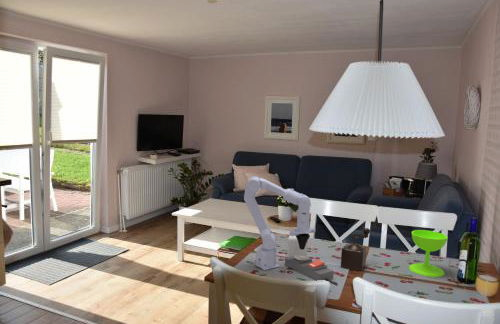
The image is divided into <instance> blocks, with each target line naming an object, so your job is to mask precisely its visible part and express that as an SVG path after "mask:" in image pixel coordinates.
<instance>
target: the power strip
mask: <svg viewBox="0 0 500 324" xmlns="http://www.w3.org/2000/svg"><path fill="white" fill-rule="evenodd" d="M297 256H299V255H297ZM305 257H306V256H305ZM307 258H309V260H304V261H303V260H297V259H295V258H294V256H292V257H287V256H286V257H285V258H284V265H285V266H287V267H288V268H290V269H293V270H295V271H296V272H299V273H301V274H302V275H304V276H307V277H309V278H311V279H313V280H315V281H317V280H325V281H327V280H328V281H327V282H329V281H330V283H332V284H333V283H334V285H336V286H338V285H339V282H337V281H334V280H333V279H334V272H335V271H334V270H333V269H330V268H328V265H327V264H324V265H322V266H321V267H318V268H312V267H310V266H308V264H310V263H312V262H313V259H312V258H310V257H308V256H307ZM331 278H332V279H331Z"/></svg>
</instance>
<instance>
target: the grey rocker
mask: <svg viewBox="0 0 500 324" xmlns="http://www.w3.org/2000/svg"><path fill="white" fill-rule="evenodd" d="M307 257H308V256H307ZM307 257H305V256H297V255H294V258H295V259H297V260H303V261H304V260H309V258H310V257H308V258H307Z"/></svg>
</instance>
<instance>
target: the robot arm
mask: <svg viewBox="0 0 500 324" xmlns="http://www.w3.org/2000/svg"><path fill="white" fill-rule="evenodd" d="M244 188H245V189H244V195H243V200H244V202H245V204H246V206H247V208H248V211H249V213H250V214H251V217H252V219H253V221H254V223H255V226H256V227H257V229H258V232H259V234H260V237H261V240H262V245H261V248H259V249H258V250H256V253H255V264H254V265H255V267H258V268H259V269H262V270H263V271H267V270H271V269H275V268H279V267H280V266H281V265H280V264H278V263H277V251H278V250H277V248H278V247H277V246H276V245H277V243H276V242H277V235H276V234H275V233H274V232H273V231H272V229H271V228H270V226H269V225H268V223H267V221H266V219H265V216H264V214H263V213H262V210H261V208H260V206H259V204H258V202H257V200H256V198H255V197H256V195H257V192H258V191H259V190H260V191H264V190H268V191H271V192H273V193H275V194H278V195H280V196H282V197H283V198H282V199H283V200H285V201H286V202H288V203H290V204H293V205H295V206H298V210H297V219H296V229H294V230H291V231H289V236H292V237H293V236H296V238H297V240H298V243H299V248H300V249H302V250H303V249H304V248H305V245H306V243H307V240H309V238H310V237H311V235H310V234H311V233H313V234H314V233H316V228H314V227H310V217H311V216H310V215H311V212H310V210H311V206H312V204H311V199H310V197H309V196H307V195H306V194H303V193H300V192H298V191H295V189H294V188H286V189H285V188H283V187H282V186H280V185H277V184H276V183H273V182H271V181H269V180H267V179H265V178H264V177H259V176H257V175H252V176H251V177H249V179H248V181H247V182H246V185H245V187H244ZM307 244H308V243H307Z"/></svg>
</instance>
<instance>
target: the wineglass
mask: <svg viewBox="0 0 500 324" xmlns="http://www.w3.org/2000/svg"><path fill="white" fill-rule="evenodd" d="M411 238H412V240H413V242H414V245H415V246H417V247H418V248H419V249H421V250H423V251H425V254H424V263H422V262H419V263H412V264H410V265H409V266H408V269H409V271H411V272H412V273H415V274H417V275H420V276H425V277H430V278H439V277H443V276H445V271H444V270H443V269H442V268H440V267H438V266H436V265H433V264H430V256H431V252H436V251H438V250H441V249H443V247H445V246H446V243H447V242H448V236H447V235H446V234H444V233H442V232H438V231H433V230H428V229H427V230H425V229H424V230H423V229H417V230H416V229H415V230H412V231H411Z"/></svg>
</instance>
